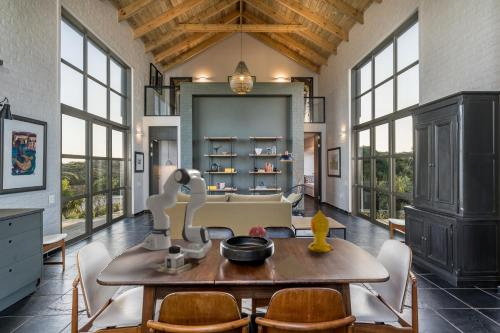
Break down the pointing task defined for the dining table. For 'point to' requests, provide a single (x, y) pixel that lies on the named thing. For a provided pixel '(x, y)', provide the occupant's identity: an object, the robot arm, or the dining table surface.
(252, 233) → the decorative mushroom
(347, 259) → the dining table surface
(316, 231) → the yellow statue
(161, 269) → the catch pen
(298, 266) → the model pyramid
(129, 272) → the dining table surface
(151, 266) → the slate tile
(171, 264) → the container
